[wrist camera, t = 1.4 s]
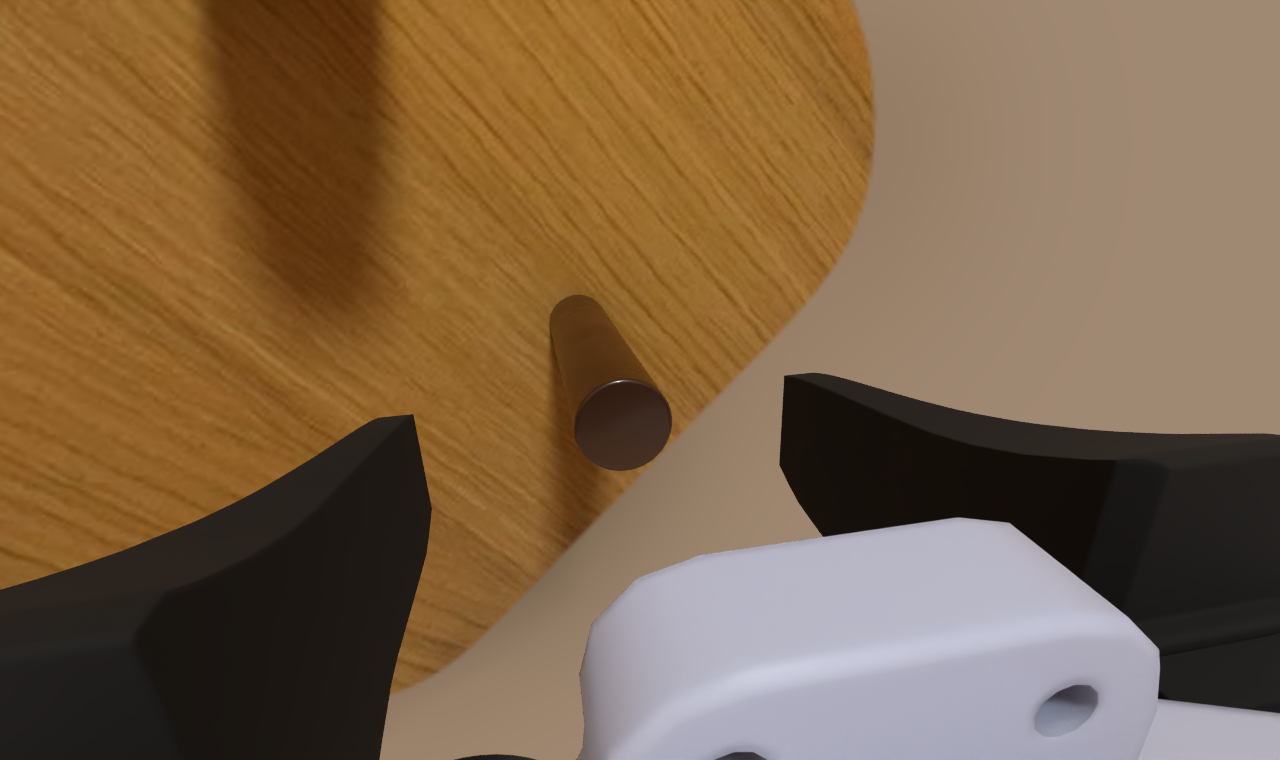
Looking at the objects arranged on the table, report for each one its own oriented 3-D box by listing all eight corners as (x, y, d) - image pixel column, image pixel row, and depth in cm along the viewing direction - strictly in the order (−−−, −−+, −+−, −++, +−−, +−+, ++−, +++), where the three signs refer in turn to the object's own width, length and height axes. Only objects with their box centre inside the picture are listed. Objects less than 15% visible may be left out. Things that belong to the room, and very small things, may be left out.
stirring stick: (607, 347, 22) (674, 465, 13) (552, 352, 22) (578, 478, 12) (603, 292, 21) (671, 373, 12) (546, 297, 21) (570, 384, 12)
